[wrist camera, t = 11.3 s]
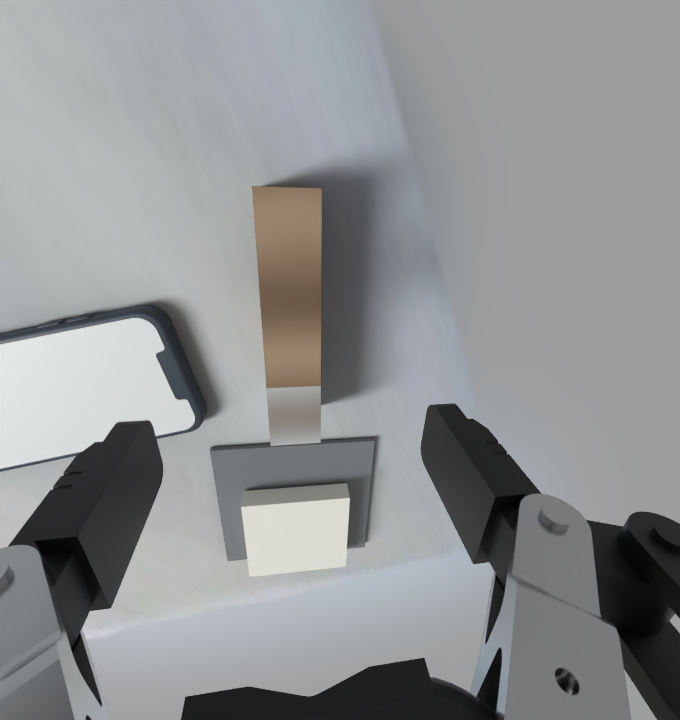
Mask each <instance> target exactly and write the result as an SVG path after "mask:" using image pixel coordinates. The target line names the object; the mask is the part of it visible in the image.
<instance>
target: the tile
mask: <svg viewBox="0 0 680 720" xmlns="http://www.w3.org/2000/svg"><path fill="white" fill-rule="evenodd" d="M349 505H350V496H349V491H348V486H347V483H342V484H329V485H316V486H303V487H290V488H278V489H265V490H252V491H243V497H242V504H241V511H242V519H243V527H244V535H245V543H246V551H247V559H248V568H249V576H250V577H254V576H263V575H272V574H281V573H290V572H300V571H309V570H318V569H327V568H336V567H345V566H346V553H347V537H348V521H349Z"/></svg>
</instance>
